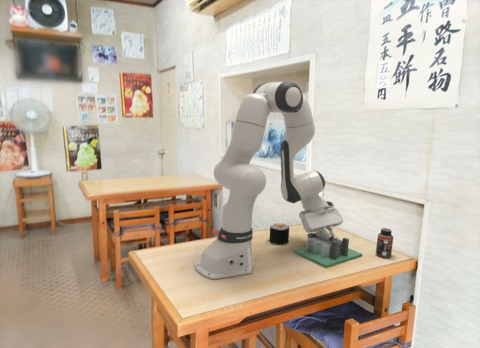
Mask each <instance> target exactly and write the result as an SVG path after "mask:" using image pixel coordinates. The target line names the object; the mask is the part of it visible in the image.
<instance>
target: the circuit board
mask: <svg viewBox="0 0 480 348" xmlns="http://www.w3.org/2000/svg"><path fill="white" fill-rule="evenodd" d="M306 246H307V245H305V246H304V245H303V246H300V247H297V248H294V249H292V252H293V253H295V254H297V255H299V256H301V257H302V258H305V259H307V260H308V261H311V262H312V263H315V264H316V265H318V266H321V267H322V268H325V269H327V268H331V267H333V266H336V265H339V264H343V263H346V262H349V261H352V260H355V259H358V258H361V257H363V253H361V252H359V251H356V250H354V249H352V248H349V247H348V256H343V255H338V256H337V259H335V260H334V259H332V258H327V257H321V255H320V254H318V253H315V254H314V253H313V251H312V250H306Z"/></svg>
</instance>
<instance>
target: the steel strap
mask: <svg viewBox="0 0 480 348" xmlns="http://www.w3.org/2000/svg"><path fill="white" fill-rule="evenodd" d="M312 233H313V236H315V237H317V238H320V239H322V240H324V241H326V242H329V243H332V241H337V242H338V245H342V244H343V241H341V240H342V239H340V240H338V239H339V238H338V239H336V238H329V239H328V238H327V236H326V235H325V234H323V233H321V232H319V231H315V232H312Z"/></svg>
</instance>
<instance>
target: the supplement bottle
mask: <svg viewBox="0 0 480 348" xmlns="http://www.w3.org/2000/svg"><path fill="white" fill-rule="evenodd" d="M393 243H394V235H392V230H391V229H390V228H386V227H385V228H384V227H383V228H381V229H380V233H378V234H377V240H376V248H375V255H377V256H378V257H380V258H384V259H390V258H391V256H392V251H393Z"/></svg>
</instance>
